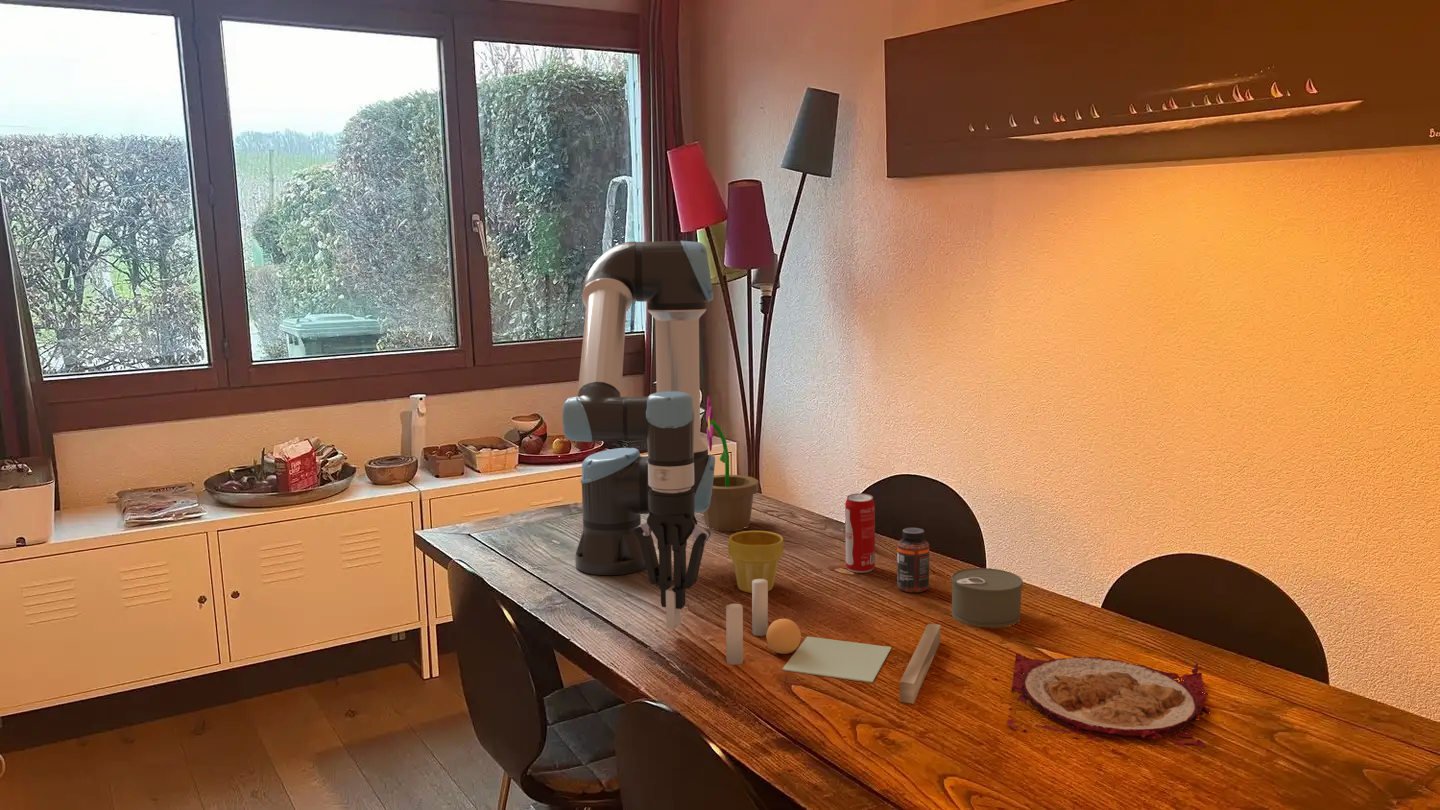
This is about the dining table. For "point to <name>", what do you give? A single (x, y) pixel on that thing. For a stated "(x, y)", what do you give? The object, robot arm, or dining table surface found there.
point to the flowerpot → (728, 490)
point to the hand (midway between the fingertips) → (673, 625)
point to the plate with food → (1110, 697)
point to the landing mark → (838, 659)
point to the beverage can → (860, 533)
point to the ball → (783, 636)
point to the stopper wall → (919, 664)
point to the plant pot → (755, 557)
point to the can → (986, 597)
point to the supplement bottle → (913, 561)
